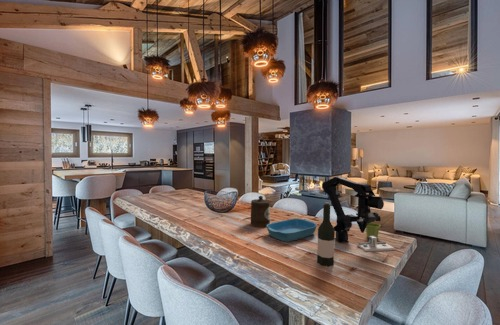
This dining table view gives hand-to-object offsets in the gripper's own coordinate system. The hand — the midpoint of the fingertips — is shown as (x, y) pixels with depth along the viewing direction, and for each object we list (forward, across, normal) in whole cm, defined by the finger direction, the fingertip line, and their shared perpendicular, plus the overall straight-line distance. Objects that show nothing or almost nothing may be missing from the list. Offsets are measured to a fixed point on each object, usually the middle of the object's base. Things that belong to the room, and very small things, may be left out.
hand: (362, 232), depth 135 cm
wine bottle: (+9, -29, -15) cm, 34 cm away
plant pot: (+10, +18, +16) cm, 26 cm away
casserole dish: (+10, -33, +27) cm, 44 cm away
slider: (+8, +7, -1) cm, 10 cm away
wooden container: (+10, -50, +52) cm, 73 cm away
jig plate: (+9, +9, 0) cm, 13 cm away
